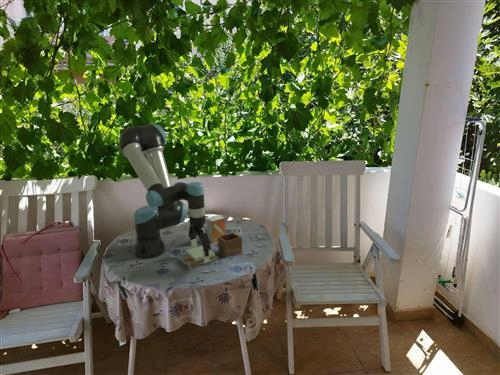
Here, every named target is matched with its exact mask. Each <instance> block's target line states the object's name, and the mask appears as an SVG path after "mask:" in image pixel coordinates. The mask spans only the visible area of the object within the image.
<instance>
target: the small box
mask: <svg viewBox="0 0 500 375" xmlns="http://www.w3.org/2000/svg"><path fill="white" fill-rule="evenodd" d="M205 218H206V229H207V234H208V238H209V242H211V243H212V244H213V243H218V236H222V235H225V234H227V233H226V219H225V217H224V216H223V215H220V214H218V215H217V214H216V215H213V216H210V217H205Z"/></svg>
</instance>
